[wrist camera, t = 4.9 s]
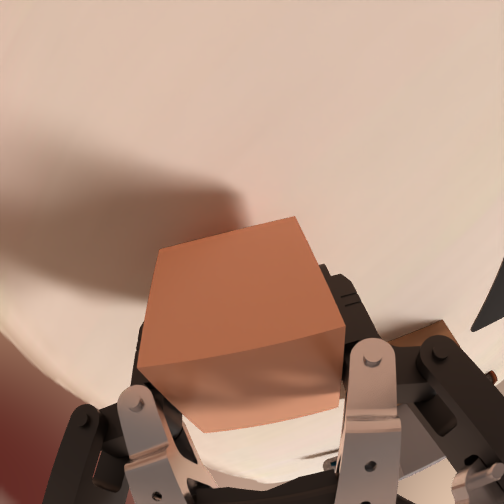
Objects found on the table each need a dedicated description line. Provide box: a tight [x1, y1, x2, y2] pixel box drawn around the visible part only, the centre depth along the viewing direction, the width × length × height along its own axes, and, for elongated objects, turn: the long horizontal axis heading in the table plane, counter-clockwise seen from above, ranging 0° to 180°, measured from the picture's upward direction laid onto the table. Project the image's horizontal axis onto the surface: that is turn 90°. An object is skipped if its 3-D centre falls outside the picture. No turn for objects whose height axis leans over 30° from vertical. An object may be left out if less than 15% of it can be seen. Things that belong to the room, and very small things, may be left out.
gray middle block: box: [397, 403, 446, 481], centre depth 15 cm, size 7×7×5 cm
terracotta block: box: [137, 216, 346, 433], centre depth 10 cm, size 5×5×5 cm
